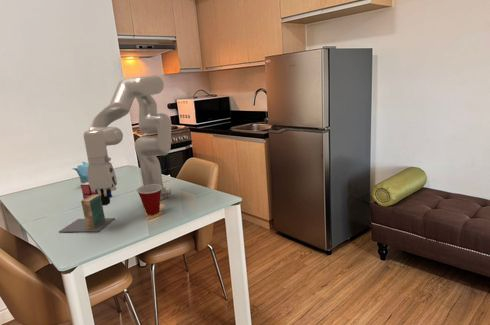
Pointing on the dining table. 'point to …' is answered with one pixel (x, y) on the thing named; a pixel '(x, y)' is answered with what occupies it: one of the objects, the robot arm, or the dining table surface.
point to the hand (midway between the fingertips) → (106, 204)
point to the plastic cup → (150, 198)
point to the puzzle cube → (88, 190)
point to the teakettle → (83, 172)
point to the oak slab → (93, 211)
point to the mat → (81, 227)
